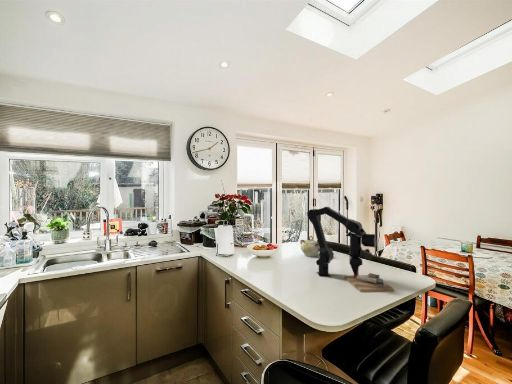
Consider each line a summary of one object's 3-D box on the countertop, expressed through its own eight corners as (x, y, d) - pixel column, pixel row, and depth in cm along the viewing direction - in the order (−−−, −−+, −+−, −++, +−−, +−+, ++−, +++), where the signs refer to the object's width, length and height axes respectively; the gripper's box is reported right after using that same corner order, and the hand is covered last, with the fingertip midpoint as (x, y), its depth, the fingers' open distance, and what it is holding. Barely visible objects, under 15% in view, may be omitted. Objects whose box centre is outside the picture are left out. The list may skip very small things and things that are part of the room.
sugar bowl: (327, 256, 190) (327, 236, 190) (315, 259, 180) (315, 239, 180) (306, 251, 205) (306, 233, 205) (294, 254, 196) (294, 235, 195)
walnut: (367, 279, 137) (367, 272, 137) (373, 279, 137) (373, 272, 137) (370, 281, 133) (370, 274, 133) (376, 281, 133) (376, 274, 133)
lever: (383, 283, 129) (383, 271, 129) (381, 285, 126) (381, 272, 126) (355, 276, 139) (355, 265, 139) (352, 278, 137) (352, 266, 136)
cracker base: (344, 277, 143) (344, 271, 143) (373, 277, 144) (373, 270, 144) (360, 291, 123) (360, 284, 123) (393, 291, 124) (393, 283, 124)
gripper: (373, 249, 126) (373, 280, 126) (370, 242, 143) (369, 269, 143) (349, 248, 129) (349, 278, 130) (349, 241, 147) (349, 267, 147)
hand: (355, 273), depth 137 cm, fingers open, 6 cm apart
